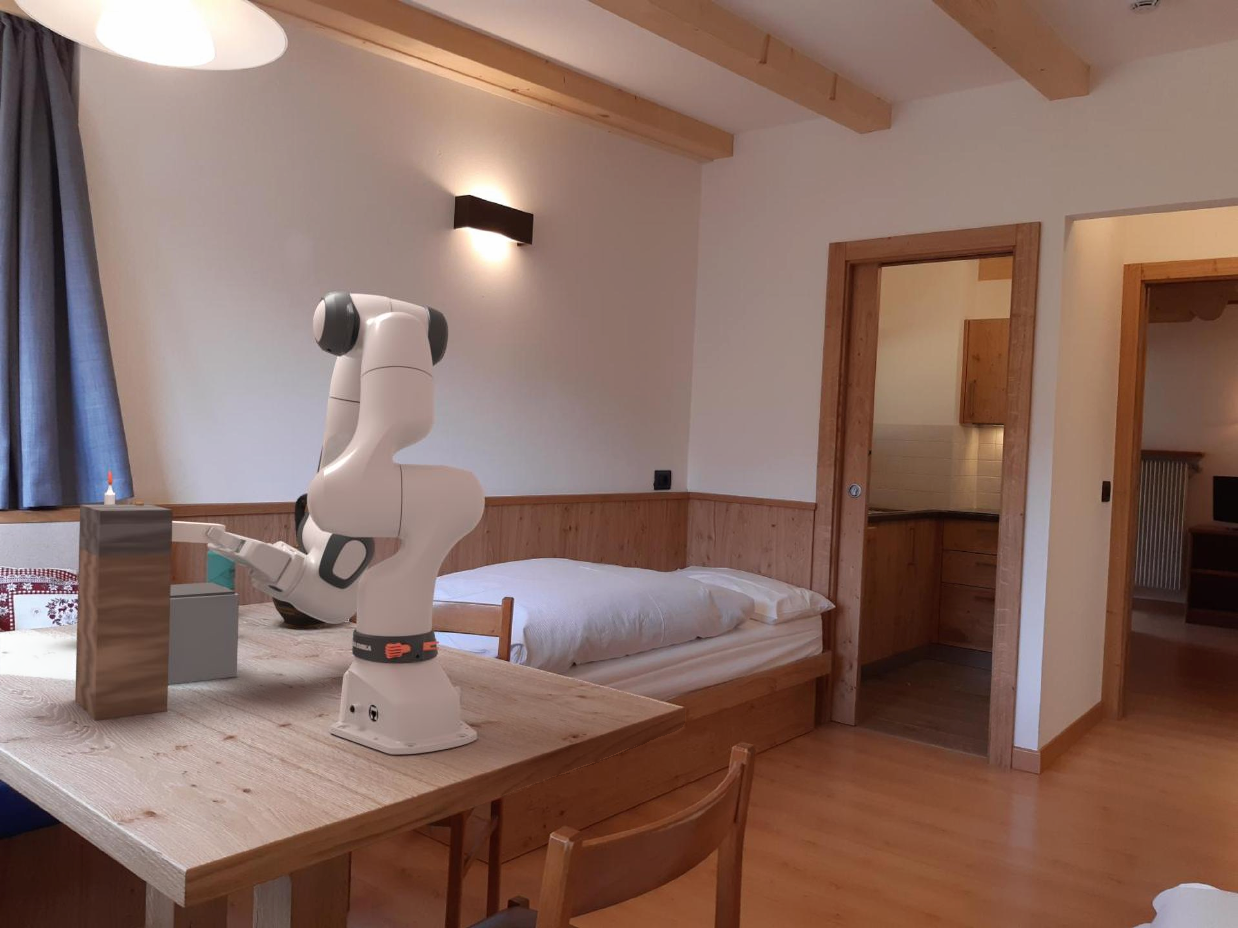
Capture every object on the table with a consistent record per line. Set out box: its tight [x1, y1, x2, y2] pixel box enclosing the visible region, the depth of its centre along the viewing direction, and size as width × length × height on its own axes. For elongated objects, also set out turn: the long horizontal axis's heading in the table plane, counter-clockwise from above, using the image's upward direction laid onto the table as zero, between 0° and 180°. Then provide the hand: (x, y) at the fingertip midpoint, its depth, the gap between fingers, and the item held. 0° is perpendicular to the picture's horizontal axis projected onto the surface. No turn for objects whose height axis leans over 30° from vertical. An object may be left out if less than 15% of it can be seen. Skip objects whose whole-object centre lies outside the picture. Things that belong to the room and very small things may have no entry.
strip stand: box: [74, 502, 174, 721], centre depth 154 cm, size 14×10×31 cm
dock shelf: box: [168, 582, 240, 685], centre depth 175 cm, size 14×16×15 cm
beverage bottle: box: [205, 549, 237, 591], centre depth 229 cm, size 6×7×20 cm
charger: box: [172, 520, 226, 544], centre depth 157 cm, size 4×16×3 cm, turn 129°
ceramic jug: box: [271, 492, 328, 630], centre depth 226 cm, size 17×15×30 cm
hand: (204, 529), depth 161 cm, fingers closed on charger, 4 cm apart
